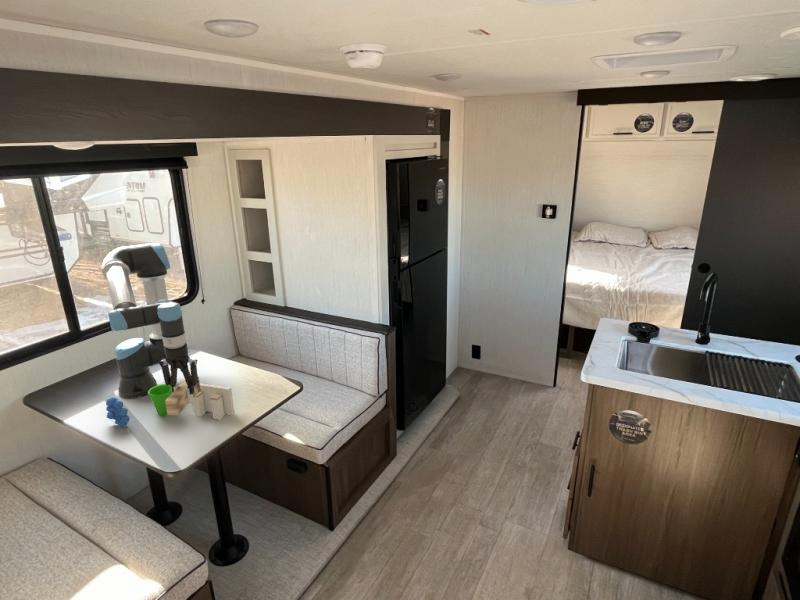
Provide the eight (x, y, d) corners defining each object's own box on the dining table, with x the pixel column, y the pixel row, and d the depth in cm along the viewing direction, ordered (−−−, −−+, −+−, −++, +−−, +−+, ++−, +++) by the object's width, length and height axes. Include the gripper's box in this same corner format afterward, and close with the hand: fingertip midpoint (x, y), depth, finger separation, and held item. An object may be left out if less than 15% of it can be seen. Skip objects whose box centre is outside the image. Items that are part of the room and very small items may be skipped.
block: (190, 390, 183) (188, 376, 181) (200, 390, 183) (198, 376, 181) (167, 415, 166) (164, 400, 164) (178, 415, 166) (176, 400, 164)
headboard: (187, 414, 188) (183, 388, 184) (196, 407, 193) (192, 382, 189) (226, 421, 184) (222, 394, 180) (234, 413, 189) (231, 387, 185)
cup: (151, 421, 184) (146, 397, 180) (153, 410, 191) (148, 386, 188) (176, 416, 187) (172, 392, 183) (177, 405, 195) (172, 382, 191)
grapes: (100, 426, 180) (93, 399, 176) (117, 417, 186) (111, 391, 182) (119, 434, 175) (112, 407, 171) (135, 425, 181) (130, 398, 177)
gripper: (146, 348, 164) (157, 405, 171) (193, 349, 163) (202, 406, 171) (157, 340, 171) (168, 395, 178) (203, 340, 170) (211, 396, 178)
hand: (185, 400), depth 174 cm, fingers closed on block, 4 cm apart
